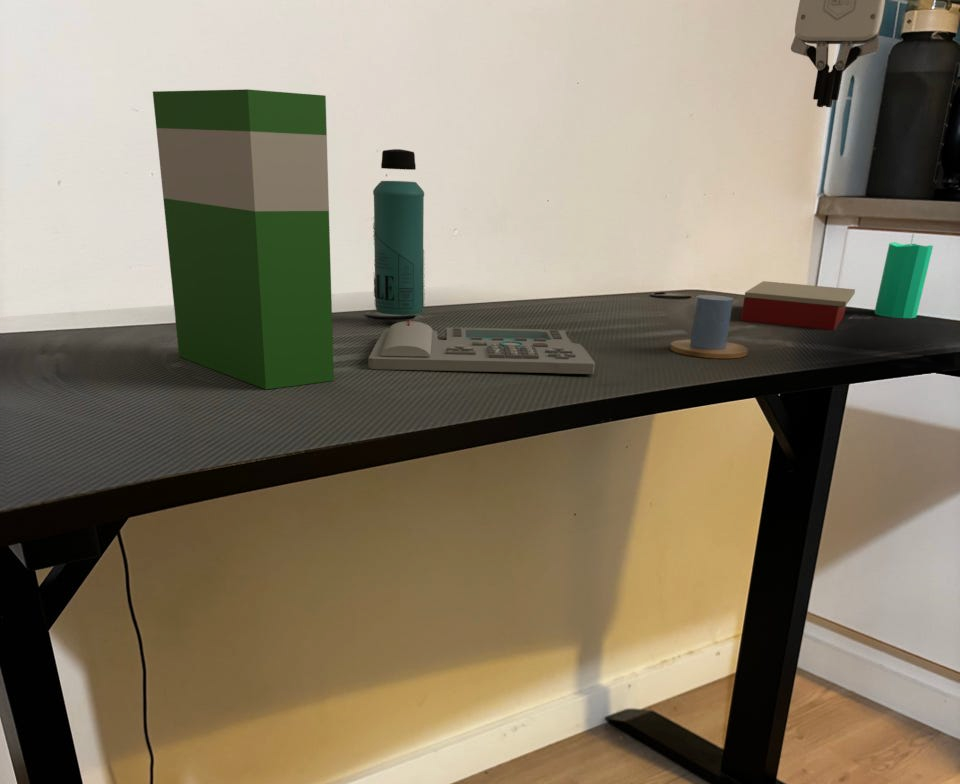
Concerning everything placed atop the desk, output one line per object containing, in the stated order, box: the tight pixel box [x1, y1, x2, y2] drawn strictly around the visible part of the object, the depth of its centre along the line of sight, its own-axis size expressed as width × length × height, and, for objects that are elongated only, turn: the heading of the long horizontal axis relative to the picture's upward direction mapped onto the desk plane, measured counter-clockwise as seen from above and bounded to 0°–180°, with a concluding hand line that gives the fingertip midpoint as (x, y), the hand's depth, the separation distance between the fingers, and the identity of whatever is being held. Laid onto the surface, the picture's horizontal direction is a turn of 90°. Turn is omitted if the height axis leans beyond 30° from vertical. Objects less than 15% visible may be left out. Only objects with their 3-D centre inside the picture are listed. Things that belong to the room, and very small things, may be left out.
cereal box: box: [152, 88, 335, 390], centre depth 91 cm, size 18×7×24 cm, turn 41°
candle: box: [874, 232, 934, 319], centre depth 142 cm, size 6×6×12 cm
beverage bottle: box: [372, 148, 426, 316], centre depth 119 cm, size 6×7×20 cm
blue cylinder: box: [690, 294, 734, 349], centre depth 113 cm, size 4×4×6 cm
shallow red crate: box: [740, 297, 847, 331], centre depth 137 cm, size 12×15×4 cm
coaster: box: [670, 338, 749, 360], centre depth 115 cm, size 9×9×1 cm
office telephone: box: [367, 319, 596, 375], centre depth 107 cm, size 23×3×20 cm
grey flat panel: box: [744, 280, 856, 307], centre depth 135 cm, size 13×15×1 cm
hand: (824, 106), depth 125 cm, fingers closed
